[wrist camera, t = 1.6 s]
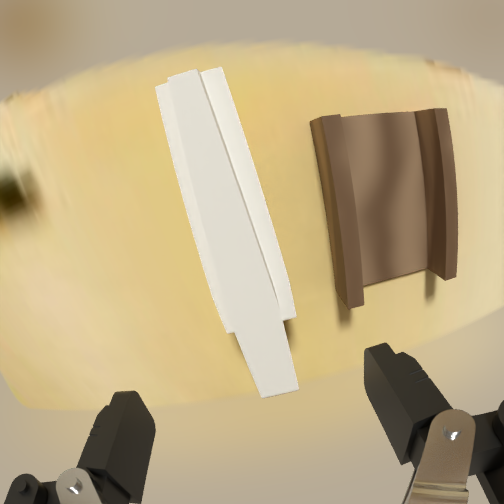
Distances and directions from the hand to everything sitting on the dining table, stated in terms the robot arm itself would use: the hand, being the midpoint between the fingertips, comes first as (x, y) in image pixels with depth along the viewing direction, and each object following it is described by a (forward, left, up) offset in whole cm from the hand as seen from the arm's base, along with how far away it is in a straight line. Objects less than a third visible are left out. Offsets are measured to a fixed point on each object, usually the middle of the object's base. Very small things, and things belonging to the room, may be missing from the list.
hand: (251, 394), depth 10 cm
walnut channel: (-14, -1, -19) cm, 23 cm away
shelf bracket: (0, -1, -19) cm, 19 cm away
